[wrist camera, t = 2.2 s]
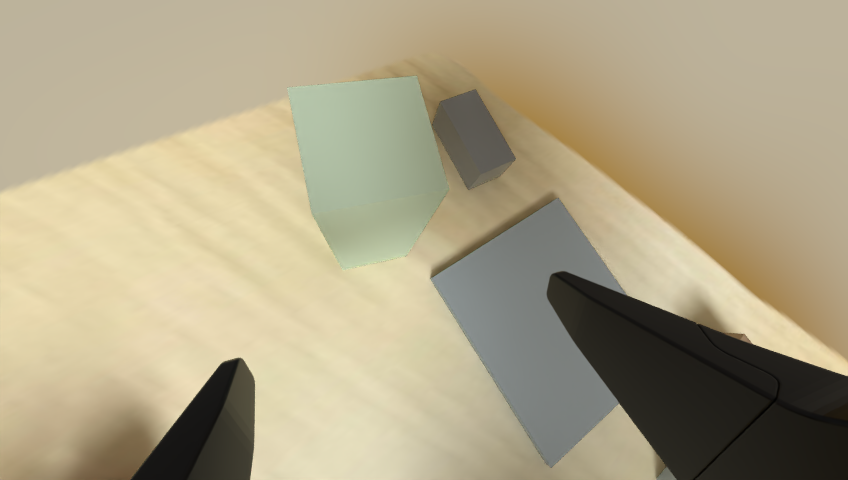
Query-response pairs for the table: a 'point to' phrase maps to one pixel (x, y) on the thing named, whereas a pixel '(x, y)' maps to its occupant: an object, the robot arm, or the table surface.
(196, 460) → the robot arm
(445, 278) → the slate mat
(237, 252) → the table surface
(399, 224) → the sage brick
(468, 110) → the charcoal brick
